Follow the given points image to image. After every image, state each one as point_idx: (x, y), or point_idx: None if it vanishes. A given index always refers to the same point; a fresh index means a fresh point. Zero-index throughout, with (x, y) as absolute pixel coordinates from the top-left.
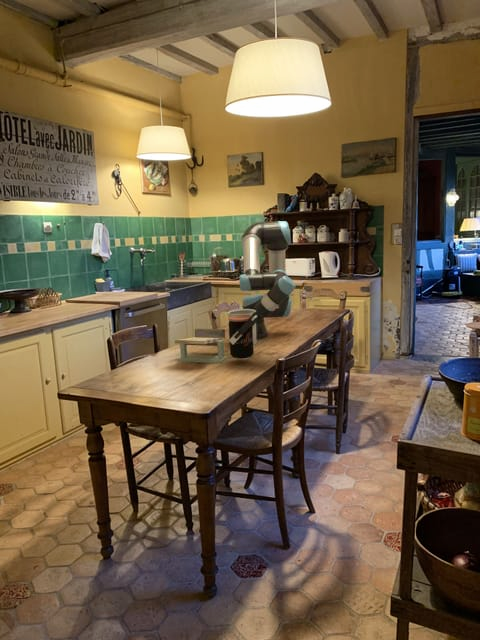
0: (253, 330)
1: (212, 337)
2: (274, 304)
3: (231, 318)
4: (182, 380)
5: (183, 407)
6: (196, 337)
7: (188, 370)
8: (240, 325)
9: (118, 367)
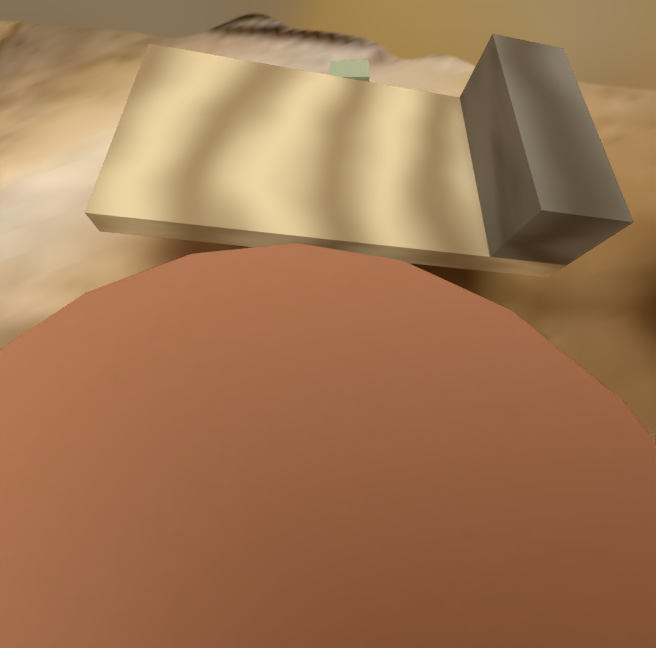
0: None
1: (479, 193)
2: None
3: (28, 388)
4: (14, 278)
5: None
6: (444, 108)
7: (166, 248)
8: None
9: (215, 31)
